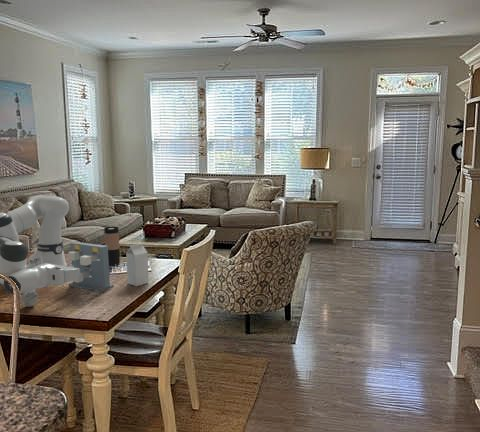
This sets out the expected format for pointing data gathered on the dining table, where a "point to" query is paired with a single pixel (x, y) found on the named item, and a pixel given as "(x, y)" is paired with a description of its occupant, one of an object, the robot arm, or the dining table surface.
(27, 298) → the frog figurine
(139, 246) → the milk carton
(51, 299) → the dining table surface
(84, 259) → the button top right
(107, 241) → the travel mug
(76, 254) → the button top left
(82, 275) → the button bottom
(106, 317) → the dining table surface
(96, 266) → the panel
